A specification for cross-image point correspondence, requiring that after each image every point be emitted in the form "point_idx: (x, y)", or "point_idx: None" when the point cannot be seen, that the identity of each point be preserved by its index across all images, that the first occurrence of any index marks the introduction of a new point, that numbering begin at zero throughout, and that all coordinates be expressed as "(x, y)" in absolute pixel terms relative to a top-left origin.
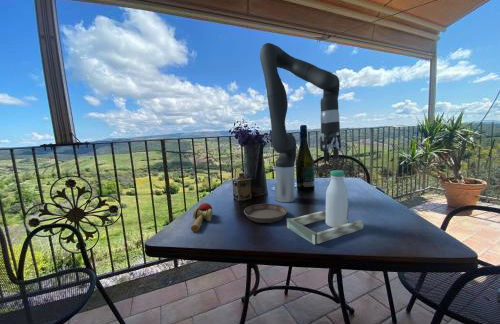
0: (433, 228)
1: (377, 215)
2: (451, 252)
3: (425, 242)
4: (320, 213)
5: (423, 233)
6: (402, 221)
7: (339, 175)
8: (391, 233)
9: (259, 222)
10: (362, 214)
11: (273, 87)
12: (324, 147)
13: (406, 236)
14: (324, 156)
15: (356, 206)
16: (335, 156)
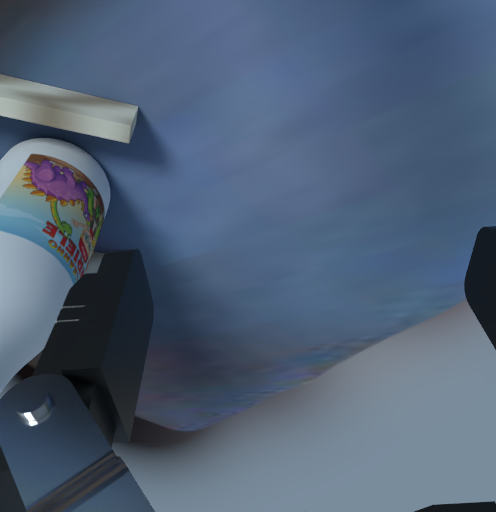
0: (298, 377)
1: (310, 252)
2: (165, 414)
3: (175, 383)
4: (9, 116)
5: (236, 371)
6: (301, 321)
7: None
8: (162, 327)
9: None
10: (279, 206)
11: None
12: (38, 504)
13: (176, 353)
14: (58, 329)
15: (394, 134)
16: (491, 281)
